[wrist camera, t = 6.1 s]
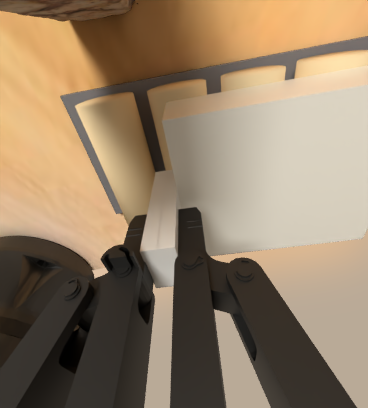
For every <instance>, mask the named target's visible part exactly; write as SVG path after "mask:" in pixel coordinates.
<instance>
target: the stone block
mask: <svg viewBox="0 0 368 408" xmlns="http://www.w3.org/2000/svg"><path fill="white" fill-rule="evenodd" d="M134 1H135V0H0V11H5V12H12V13H17V14H21V15H29V16H35V17H42V18H50V19H54V20H58V21H67V20H77V21H85V20H89V19H97V18H103V17H107V16H110V15H119V14H124V13H126V12H128V11H130V10H131V8H132V4H133V2H134ZM137 4H138V3H137Z"/></svg>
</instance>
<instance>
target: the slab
mask: <svg viewBox="0 0 368 408" xmlns="http://www.w3.org/2000/svg"><path fill="white" fill-rule="evenodd" d="M162 123H163V128H164V133H165V137H166V142H167V146H168V151H169V156H170V160H171V165H172V169H173V174H174V178H175V183H176V187H177V191H178V196H179V200H180V205H181V209H184V208H192V207H197V208H198V210H199V211H200V212H201V217H202V224H203V231H204V238H205V246H206V252H207V254H208V255H209V256H216V255H224V254H234V253H242V252H251V251H260V250H268V249H277V248H285V247H294V246H303V245H312V244H320V243H329V242H338V241H346V240H354V239H362V238H363V236H364V235H365V233H366V231H367V229H368V65H367V66H362V67H356V68H351V69H345V70H340V71H334V72H329V73H323V74H318V75H312V76H307V77H301V78H296V79H290V80H285V81H279V82H274V83H269V84H263V85H258V86H252V87H247V88H241V89H236V90H230V91H225V92H219V93H214V94H208V95H203V96H197V97H192V98H186V99H181V100H175V101H170V102H166V106H165V110H164V114H163V118H162Z"/></svg>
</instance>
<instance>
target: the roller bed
mask: <svg viewBox="0 0 368 408" xmlns="http://www.w3.org/2000/svg"><path fill="white" fill-rule="evenodd" d="M367 65H368V36H366V37H361V38H356V39H351V40H345V41H340V42H335V43H330V44H325V45H319V46H314V47H309V48H304V49H299V50H294V51H288V52H283V53H278V54H273V55H268V56H263V57H257V58H252V59H247V60H242V61H237V62H232V63H226V64H221V65H216V66H211V67H206V68H200V69H195V70H190V71H185V72H180V73H175V74H169V75H164V76H159V77H154V78H149V79H144V80H138V81H133V82H128V83H123V84H118V85H112V86H107V87H102V88H97V89H92V90H87V91H81V92H76V93H71V94H66V95H62V96H60V97H61V99H62V101H63V103H64V105H65V107H66V109H67V112H68V114H69V116H70V118H71V120H72V122H73V124H74V126H75V128H76V131H77V133H78V135H79V137H80V139H81V141H82V143H83V145H84V147H85V149H86V152H87V154H88V156H89V158H90V160H91V162H92V164H93V166H94V168H95V170H96V173H97V175H98V177H99V179H100V181H101V183H102V185H103V187H104V189H105V191H106V194H107V196H108V198H109V200H110V202H111V204H112V206H113V208H114V210H115V213H116V214H119V213H123V215H124V217H125V219H126V221H127V224H128V226H129V224H130V222H131V221H132V219H133V218H134V217H135V216H137V215H145V214H147V212H148V207H149V202H150V197H151V192H152V187H153V182H154V177H155V172H160V171H166V170H173V169H172V165H171V160H170V156H169V151H168V146H167V142H166V137H165V133H164V128H163V123H162V118H163V114H164V110H165V106H166V102H170V101H175V100H181V99H186V98H192V97H197V96H203V95H208V94H214V93H219V92H225V91H230V90H236V89H241V88H247V87H252V86H258V85H263V84H269V83H274V82H279V81H285V80H290V79H296V78H301V77H307V76H312V75H318V74H323V73H329V72H334V71H340V70H345V69H351V68H356V67H362V66H367Z"/></svg>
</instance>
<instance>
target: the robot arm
mask: <svg viewBox="0 0 368 408" xmlns="http://www.w3.org/2000/svg"><path fill="white" fill-rule="evenodd" d="M100 260H101V261H102V263H103V264H104V266H105V267H106V269H107V270H108V273H107V274H105V275H103V276H100V277H98V278H95V279H94V274H93V272H92V269H91V268H90V266H89V265H88V264H87V263H86V262H85V261H84V260H83V259H82V258H81V257H80V256H78V255H77V254H75V253H74V252H72V251H70V250H69V249H67V248H65V247H63V246H60V245H58V244H55V243H53V242H50V241H46V240H43V239H38V238H33V237H26V236H7V237H0V408H144V403H145V392H146V383H147V373H148V363H149V353H150V344H151V334H152V323H153V314H154V304H155V296H154V294H153V282H154V284H155V287H156V288H161V287H171V286H174V292H173V293H174V294H173V327H172V328H173V329H172V362H171V363H172V364H171V396H170V408H226V401H225V393H224V385H223V378H222V369H221V362H220V354H219V346H218V338H217V331H216V322H215V314H214V309H215V310H220V311H223V312H227V313H230V314H231V317H232V319H233V321H234V324H235V326H236V328H237V330H238V332H239V335H240V337H241V340H242V342H243V344H244V347H245V349H246V351H247V353H248V356H249V358H250V360H251V363H252V365H253V367H254V369H255V371H256V374H257V376H258V379H259V381H260V383H261V386H262V388H263V390H264V392H265V394H266V397H267V399H268V402H269V404H270V406H271V408H357V407H356V406H355V404H354V403H353V401H352V400H351V398H350V397H349V395H348V394H347V393H346V391H345V389H344V388H343V387H342V385H341V384H340V382H339V381H338V380H337V378H336V376H335V375H334V373H333V372H332V370H331V369H330V368H329V366H328V365H327V363H326V362H325V360H324V359H323V357H322V356H321V354H320V353H319V351H318V350H317V348H316V347H315V346H314V344H313V343H312V341H311V340H310V338H309V337H308V335H307V334H306V332H305V331H304V329H303V328H302V326H301V325H300V323H299V322H298V321H297V319H296V318H295V316H294V315H293V313H292V312H291V310H290V309H289V307H288V306H287V304H286V303H285V301H284V300H283V299H282V297H281V296H280V294H279V293H278V291H277V290H276V288H275V287H274V285H273V284H272V282H271V281H270V280H269V278H268V277H267V275H266V274H265V273H264V271H263V269H262V268H261V266H259V264H258V263H257V262H255V261H253V260H251V259H249V258H236V259H234V260H233V261H231V262H230V263H225V262H220V261H216V260H214V259H212V258H211V257H210V256H209V255H208V254H207V252H206V246H205V238H204V231H203V224H202V217H201V212H200V211H199V210H198V208H197V207H192V208H184V209H181V205H180V200H179V196H178V191H177V187H176V183H175V178H174V174H173V170H166V171H160V172H155V177H154V182H153V187H152V192H151V197H150V202H149V207H148V212H147V214H145V215H137V216H135V217H134V218H133V219H132V221H131V222H130V224H129V227H128V231H127V234H126V238H125V241H124V245H117V246H114V247H112V248H110V249H108V250H107V251H106V252H105V253H104V254H103V256H102V258H101V259H100Z"/></svg>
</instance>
